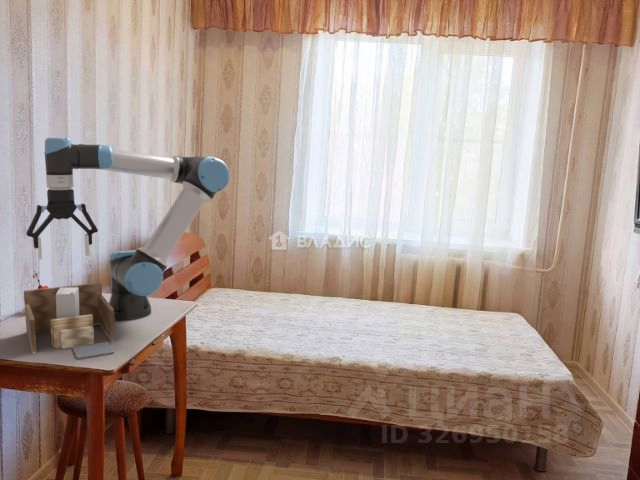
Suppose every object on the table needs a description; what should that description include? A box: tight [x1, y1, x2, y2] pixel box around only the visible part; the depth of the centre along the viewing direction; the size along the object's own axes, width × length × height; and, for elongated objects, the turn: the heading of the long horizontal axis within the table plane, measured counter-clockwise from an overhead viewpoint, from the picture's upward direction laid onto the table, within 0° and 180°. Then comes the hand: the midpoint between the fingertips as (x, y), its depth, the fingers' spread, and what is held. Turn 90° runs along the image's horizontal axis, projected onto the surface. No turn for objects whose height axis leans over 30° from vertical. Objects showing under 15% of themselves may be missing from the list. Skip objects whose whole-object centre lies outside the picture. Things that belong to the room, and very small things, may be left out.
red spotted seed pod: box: [32, 270, 49, 289], centre depth 213 cm, size 8×7×15 cm
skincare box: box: [56, 287, 80, 319], centre depth 186 cm, size 8×6×15 cm
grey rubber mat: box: [72, 341, 115, 360], centre depth 173 cm, size 10×10×1 cm
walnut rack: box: [23, 282, 116, 353], centre depth 185 cm, size 23×21×14 cm
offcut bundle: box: [50, 314, 95, 349], centre depth 179 cm, size 12×5×8 cm, turn 120°
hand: (64, 256), depth 183 cm, fingers open, 13 cm apart
